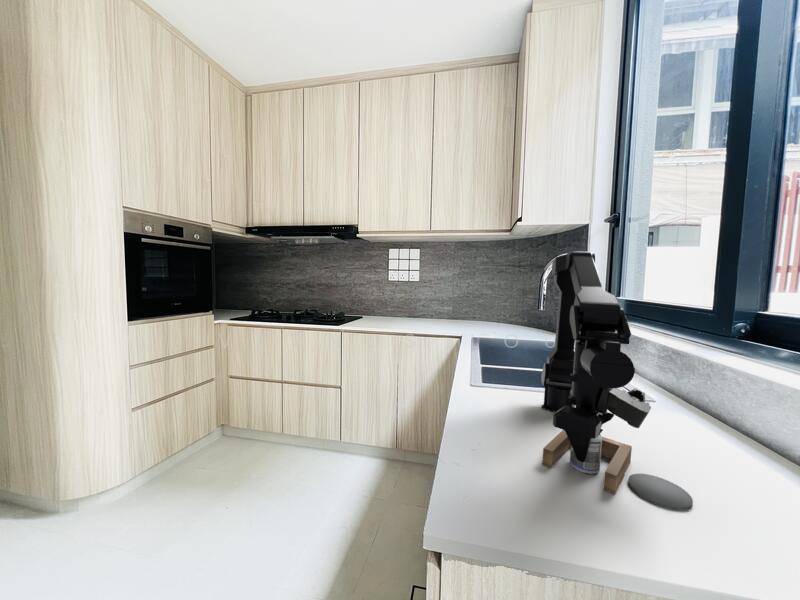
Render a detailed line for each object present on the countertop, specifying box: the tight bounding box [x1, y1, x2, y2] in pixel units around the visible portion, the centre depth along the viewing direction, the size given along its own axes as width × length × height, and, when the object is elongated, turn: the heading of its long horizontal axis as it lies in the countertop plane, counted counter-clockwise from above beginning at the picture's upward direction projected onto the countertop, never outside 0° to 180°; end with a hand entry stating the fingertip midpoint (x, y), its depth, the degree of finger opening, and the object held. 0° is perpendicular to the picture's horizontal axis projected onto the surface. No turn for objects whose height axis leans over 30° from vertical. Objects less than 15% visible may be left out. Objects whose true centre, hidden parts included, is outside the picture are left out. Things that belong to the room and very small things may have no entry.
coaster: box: [627, 473, 693, 511], centre depth 51 cm, size 8×8×1 cm
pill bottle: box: [569, 434, 603, 475], centre depth 58 cm, size 5×5×8 cm
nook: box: [541, 429, 633, 495], centre depth 59 cm, size 11×14×3 cm
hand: (585, 455), depth 58 cm, fingers open, 5 cm apart
